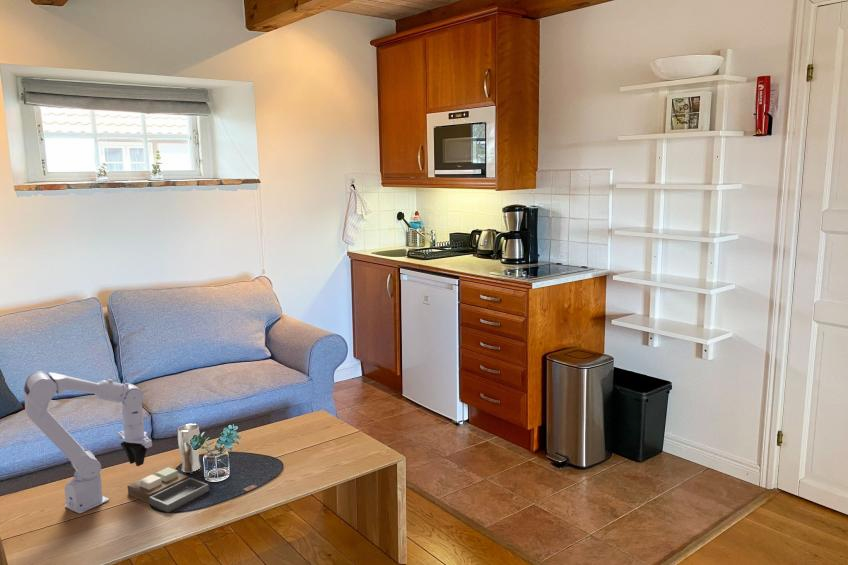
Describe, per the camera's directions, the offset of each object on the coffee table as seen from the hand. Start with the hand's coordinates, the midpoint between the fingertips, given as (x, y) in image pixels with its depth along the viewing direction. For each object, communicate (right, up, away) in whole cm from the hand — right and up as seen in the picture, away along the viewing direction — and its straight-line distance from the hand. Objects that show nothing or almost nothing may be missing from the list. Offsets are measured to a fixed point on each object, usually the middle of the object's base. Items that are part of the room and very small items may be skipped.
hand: (136, 463), depth 205 cm
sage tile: (+9, -5, +3) cm, 10 cm away
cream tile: (+6, -6, -2) cm, 8 cm away
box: (+15, -9, -4) cm, 18 cm away
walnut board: (+7, -8, +1) cm, 11 cm away
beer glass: (+12, -6, +14) cm, 20 cm away
